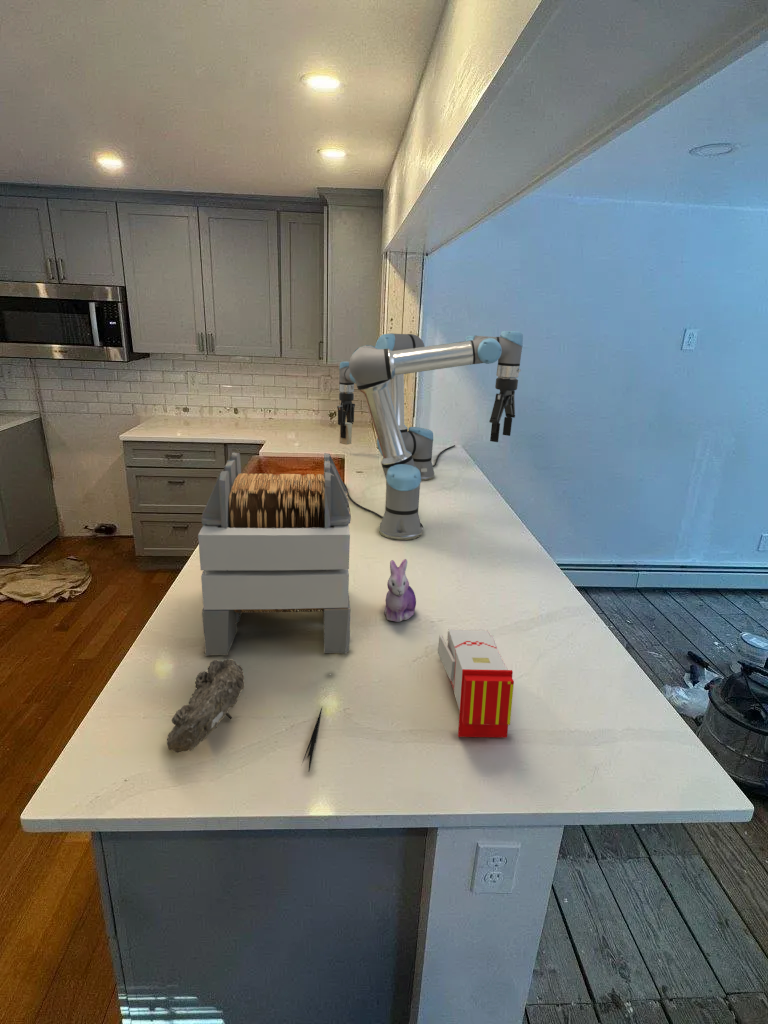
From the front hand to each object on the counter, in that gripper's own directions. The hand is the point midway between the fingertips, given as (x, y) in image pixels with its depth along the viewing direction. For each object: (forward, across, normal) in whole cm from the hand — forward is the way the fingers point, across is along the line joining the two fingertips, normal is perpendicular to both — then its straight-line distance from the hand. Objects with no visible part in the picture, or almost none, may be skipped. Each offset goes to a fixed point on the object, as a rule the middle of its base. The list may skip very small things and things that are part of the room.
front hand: (500, 438), depth 203 cm
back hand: (+23, +53, +101) cm, 116 cm away
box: (+27, +53, +101) cm, 117 cm away
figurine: (+32, -79, -3) cm, 86 cm away
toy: (+32, -99, -31) cm, 109 cm away
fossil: (+32, -133, +8) cm, 138 cm away
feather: (+32, -123, -9) cm, 128 cm away
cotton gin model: (+32, -98, +20) cm, 105 cm away
